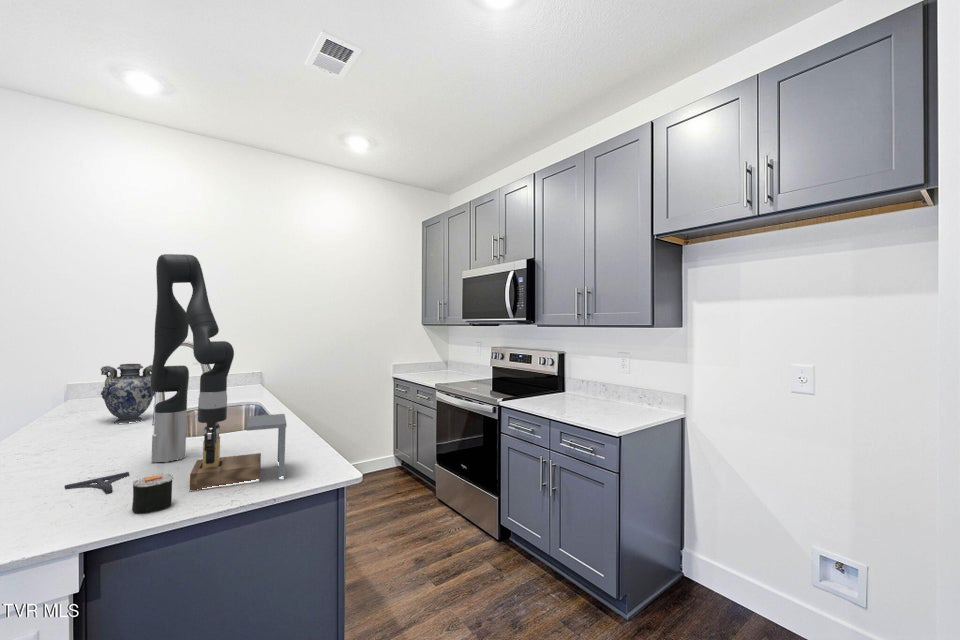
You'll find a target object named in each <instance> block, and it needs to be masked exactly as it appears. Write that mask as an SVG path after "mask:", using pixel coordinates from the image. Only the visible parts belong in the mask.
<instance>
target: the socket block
mask: <svg viewBox="0 0 960 640" xmlns="http://www.w3.org/2000/svg"><path fill="white" fill-rule="evenodd" d="M261 459H262V453H261V452H258V453H250V454H241V455H230V456H221V457H219V467H210V468H202V466H203V458H202V459H197V460H196V462H194V463H195V464H194V466H193V467H192V469H191V471H190V474H189V491H190V490H196V491H198V490H197V489H202V488H207V487H212V486H219V485H226V484H233V483H239V482H244V481H251V480H256V479H260V480H261V462H262V460H261Z"/></svg>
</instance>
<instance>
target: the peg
mask: <svg viewBox="0 0 960 640" xmlns="http://www.w3.org/2000/svg"><path fill="white" fill-rule="evenodd" d="M215 439H216V438H215ZM202 445H203V446H202V459H203V466H202V468H210V467H219V458H220V456H221V455H220V453H221V436H219V437H218V441H217V442H216V444H215V448H216V449H215V461H214V463H211V464H206V451H205V450H204V448H205V443H204V440H203V441H202ZM210 446H212V444H208V447H210Z"/></svg>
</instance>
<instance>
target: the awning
mask: <svg viewBox="0 0 960 640" xmlns="http://www.w3.org/2000/svg"><path fill="white" fill-rule="evenodd" d="M247 418H248V419H247V423H246V432H247V431H249V432H250V431H259V430H260V431H261V430H269V429H270V430H273V429H277V430H278V431H277V433H278V434H277V461H278V462H279V466H278V475H279V477H281V476H284V477H285V463H286V462H285V461H286V460H285V458H286V428H287V418H286V414H285V413H278V414H277V413H276V414H275V413H274V414H263V415H249V416H248V417H247Z"/></svg>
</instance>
